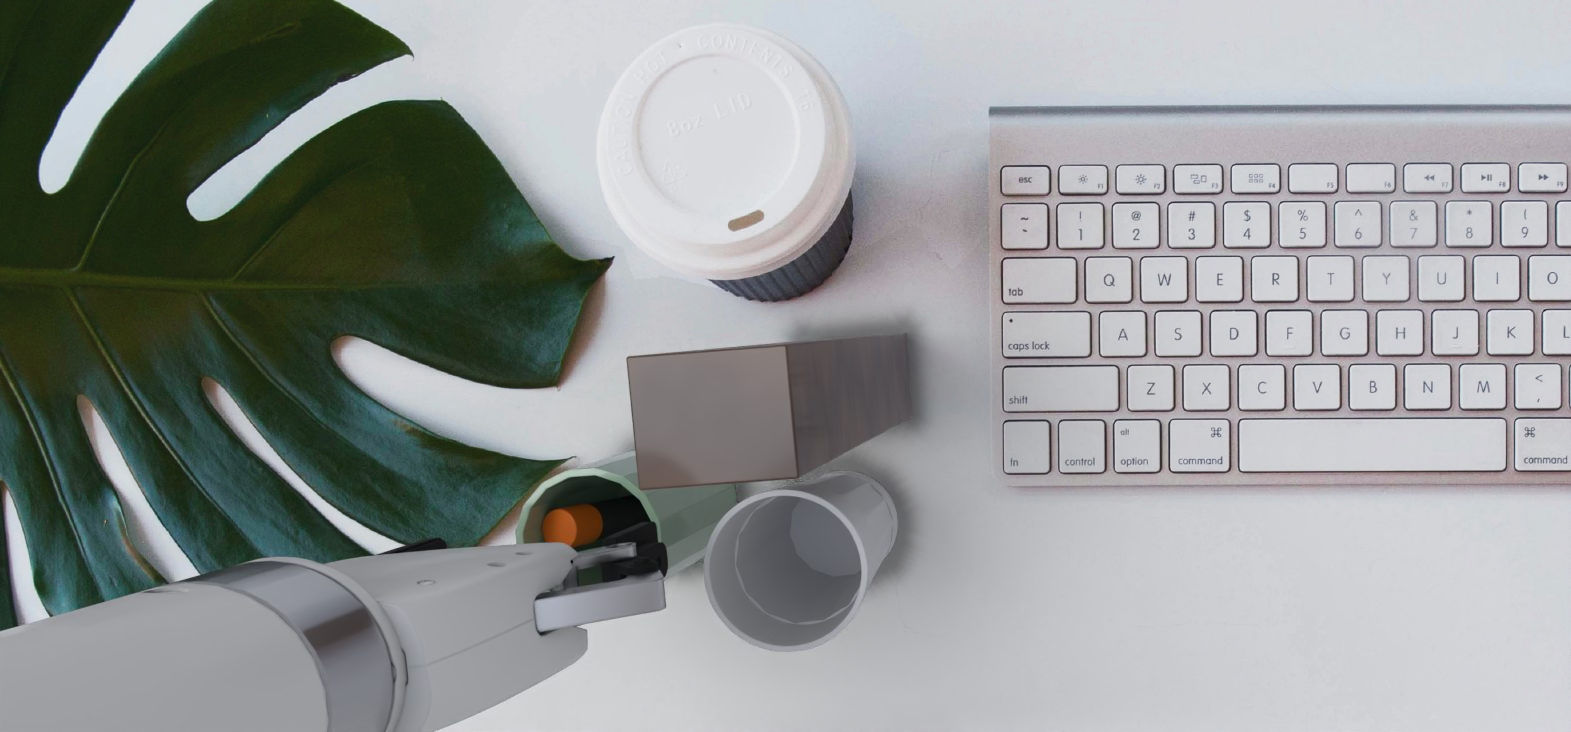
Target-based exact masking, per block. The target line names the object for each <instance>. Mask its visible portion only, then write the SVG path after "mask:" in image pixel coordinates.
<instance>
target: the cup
mask: <svg viewBox="0 0 1571 732" xmlns="http://www.w3.org/2000/svg"><path fill="white" fill-rule="evenodd" d="M898 519H899V518H898V513H897V509H896V506H895V504H894V501H893V499H892V497H891V496H890V494H889V492H888V491H887V490H886V489H885V488H884V486H882V485H881V484H880V483H879V482H878V481H876V480H875V479H874V478H872V477H870V476H868V475H866V474H865V473H861V472H858V471H853V470H835V471H830V472H828V473H824V474H822V475H819V476H818V477H815V478H812V479H808V480H804V481H801V482H797V483H794V484H791V485H787V486H782V487H777V488H774V489H770V490H766V491H761V492H759V493H756V494H753V495H751V496H748V497H747V498H745V499H743V500H741V501H740V502H737V505H736V506H734V507H733V508H732V509H731V510H730V511H728V512H727V513H726V514H725V515H724V517H723V518H722V519H721V520H720V522H719V523H718V524H717V526H716V527H715V529H714V531H713V533H712V535H711V537H710V539H709V542H708V545H707V548H706V552H705V557H703V570H702V571H703V581H704V588H705V592H706V594H707V597H708V600H709V603H710V605H711V607H712V609H713V611H714V612H715V614H716V615H717V617H718V618H719V620H720V621H721V623H723V625H724V626H726V628H727V629H728V630H730V631H731V632H732V633H733V634H734V635H735V636H737V637H738V638H739V639H741V640H742V641H744V642H746V643H748V644H749V645H752V646H754V647H757V648H760V649H763V650H766V651H771V652H775V653H776V652H778V653H797V652H803V651H807V650H810V649H814V648H817V647H819V646H821V645H823V644H825V643H827V642H829V641H831V640H832V639H834V638H836V637H837V636H838V635H839V634H840V633H841V632H843V630H844V629H846V628H847V626H848V625H849V624H850V623H851V622H852V621H853V619H854V618H855V616H856V615H857V613H858V611H859V609H860V608H861V605H862V603H863V601H864V599H865V597H866V595H867V593H868V590H869V588H870V587H871V583H872V582H873V580H874V577H875V575H876V574H877V572H878V570H879V568H880V567H881V565H882V563H883V561H884V560H885V559H886V558H887V556H888V555H889V554H890V552H891V550H892V549H893V547H894V545H895V542H896V538H897V535H898V528H899V521H898Z"/></svg>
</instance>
